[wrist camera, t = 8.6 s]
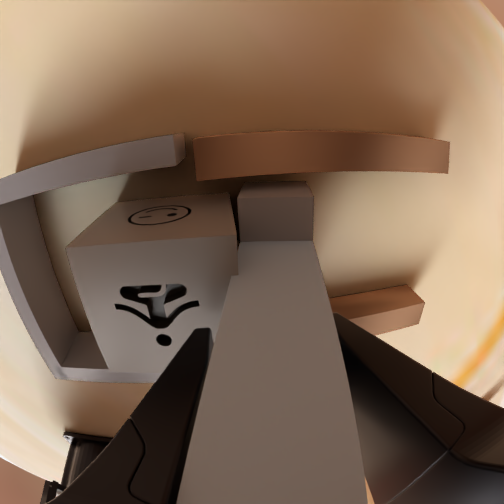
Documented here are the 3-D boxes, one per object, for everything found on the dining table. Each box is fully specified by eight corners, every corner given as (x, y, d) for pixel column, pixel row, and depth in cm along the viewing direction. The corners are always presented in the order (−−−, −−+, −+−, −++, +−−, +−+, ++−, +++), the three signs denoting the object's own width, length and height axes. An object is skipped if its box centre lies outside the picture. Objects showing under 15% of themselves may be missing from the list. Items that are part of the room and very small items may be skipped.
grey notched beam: (251, 297, 14) (214, 568, 3) (244, 182, 12) (103, 561, 1) (302, 296, 14) (321, 570, 3) (305, 181, 11) (430, 566, 1)
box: (71, 344, 14) (55, 378, 12) (14, 173, 10) (-23, 188, 7) (213, 338, 15) (214, 379, 12) (183, 132, 11) (172, 134, 8)
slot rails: (221, 334, 15) (223, 360, 13) (196, 137, 11) (192, 139, 9) (402, 305, 16) (418, 323, 14) (424, 137, 12) (449, 142, 10)
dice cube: (229, 192, 12) (236, 234, 8) (234, 294, 14) (243, 369, 10) (116, 202, 12) (65, 248, 7) (135, 299, 14) (110, 371, 9)
